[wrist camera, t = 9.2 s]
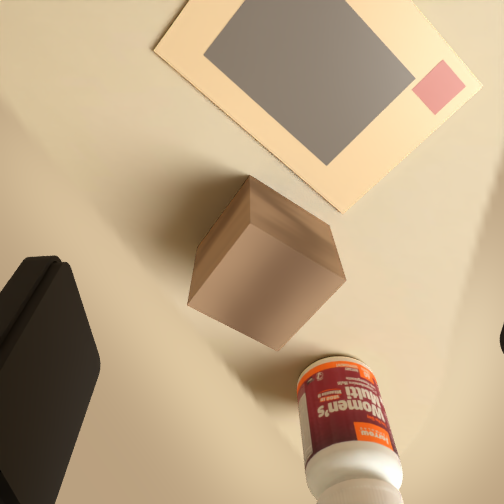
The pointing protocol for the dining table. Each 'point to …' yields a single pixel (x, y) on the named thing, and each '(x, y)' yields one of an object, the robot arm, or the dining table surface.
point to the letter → (323, 81)
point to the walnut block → (265, 266)
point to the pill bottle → (346, 435)
